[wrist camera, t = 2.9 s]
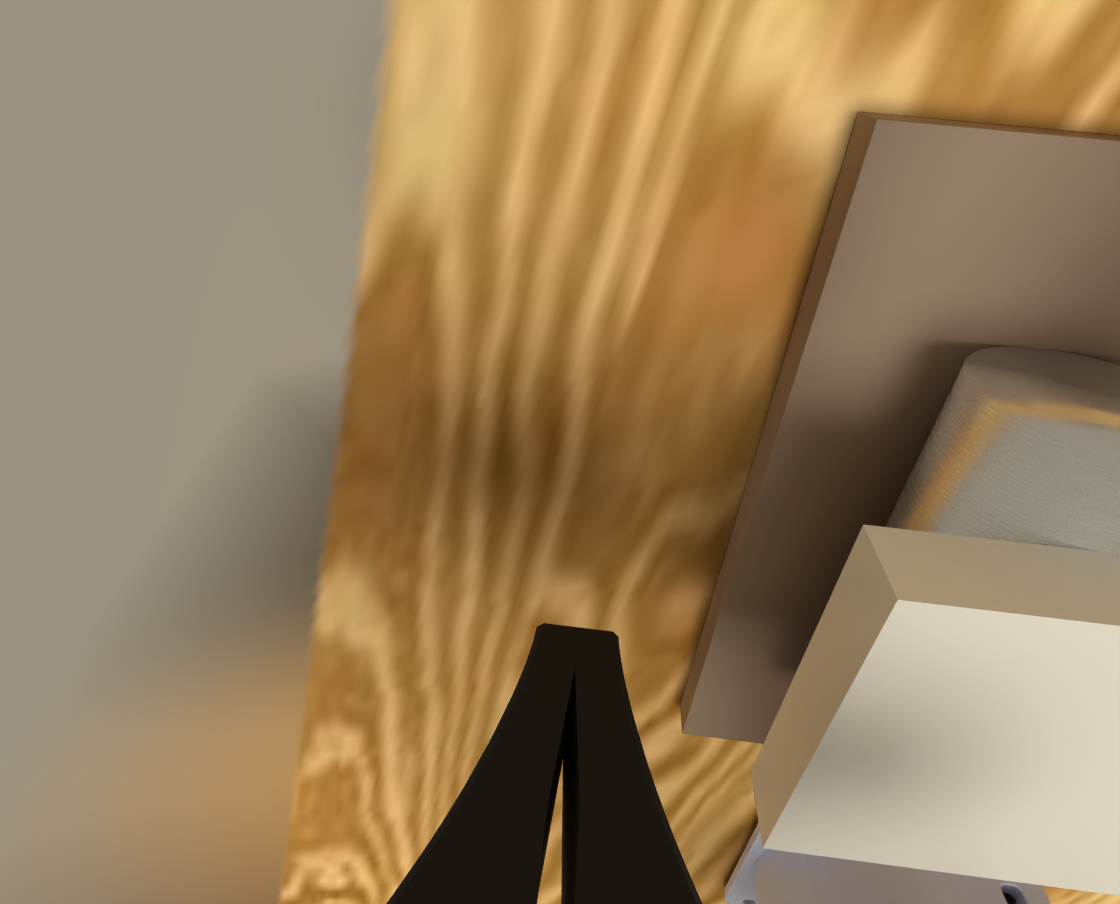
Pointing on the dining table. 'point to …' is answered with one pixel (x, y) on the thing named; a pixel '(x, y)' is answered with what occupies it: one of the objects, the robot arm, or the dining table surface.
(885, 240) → the board
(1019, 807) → the slab
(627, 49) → the dining table surface
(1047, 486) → the roller
